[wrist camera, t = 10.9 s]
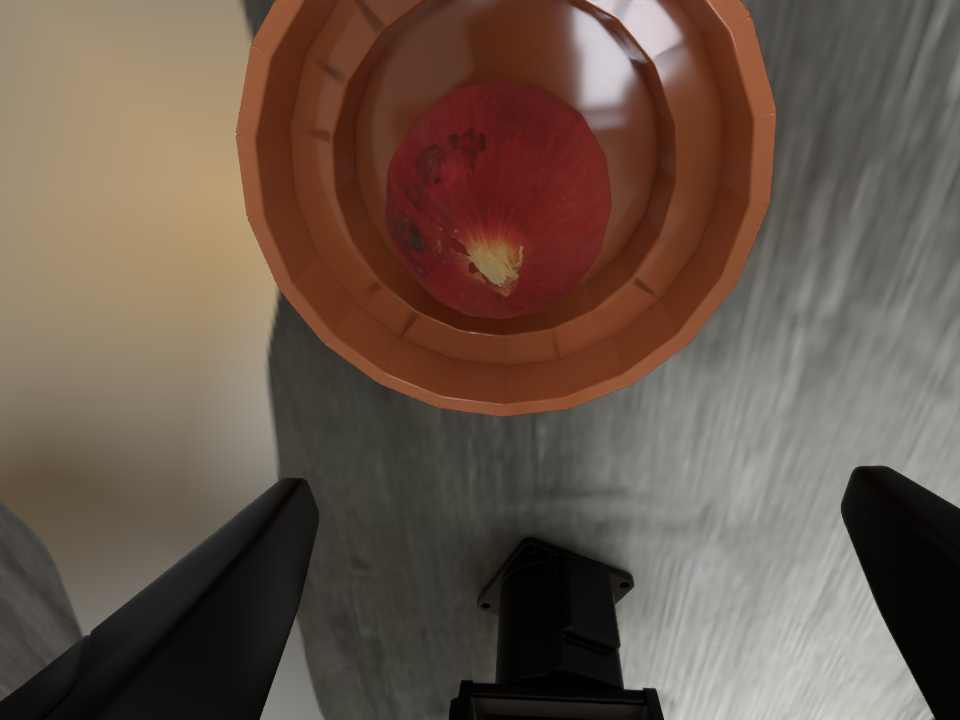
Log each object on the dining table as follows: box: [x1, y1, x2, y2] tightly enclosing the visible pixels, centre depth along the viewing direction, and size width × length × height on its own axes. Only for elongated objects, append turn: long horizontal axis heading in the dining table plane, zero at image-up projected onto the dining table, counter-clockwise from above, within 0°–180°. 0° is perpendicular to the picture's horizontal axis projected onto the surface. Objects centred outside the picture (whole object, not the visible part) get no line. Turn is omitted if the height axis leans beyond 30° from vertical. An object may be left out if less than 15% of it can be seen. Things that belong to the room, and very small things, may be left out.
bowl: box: [236, 0, 777, 416], centre depth 15 cm, size 13×13×5 cm
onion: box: [385, 80, 612, 319], centre depth 14 cm, size 6×6×8 cm
